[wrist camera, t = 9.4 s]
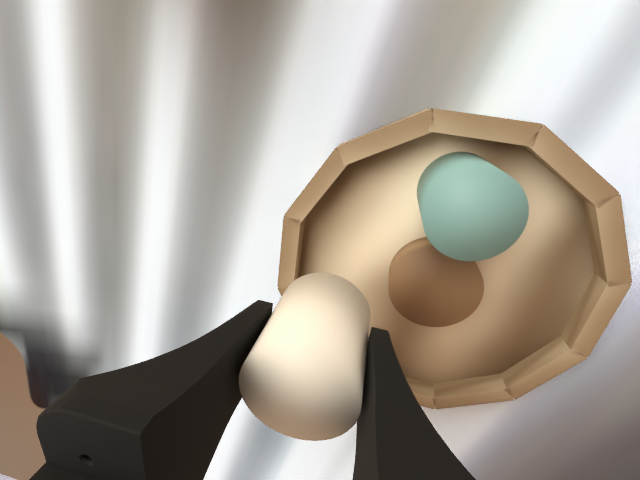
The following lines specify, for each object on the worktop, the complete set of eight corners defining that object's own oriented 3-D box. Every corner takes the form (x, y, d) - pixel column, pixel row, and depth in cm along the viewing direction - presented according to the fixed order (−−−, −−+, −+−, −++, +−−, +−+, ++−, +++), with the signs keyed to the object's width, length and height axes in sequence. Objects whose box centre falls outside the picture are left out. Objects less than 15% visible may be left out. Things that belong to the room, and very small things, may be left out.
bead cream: (379, 284, 14) (372, 363, 9) (361, 359, 15) (349, 453, 11) (284, 263, 14) (240, 330, 10) (277, 338, 16) (237, 421, 12)
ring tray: (679, 142, 15) (721, 149, 13) (530, 412, 23) (543, 442, 21) (303, 90, 18) (292, 89, 16) (278, 349, 25) (268, 370, 23)
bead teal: (508, 157, 17) (545, 176, 12) (483, 231, 18) (508, 269, 14) (426, 145, 17) (436, 160, 13) (409, 218, 19) (412, 251, 15)
